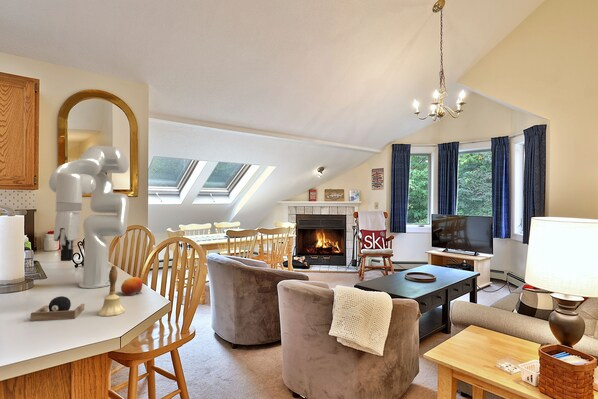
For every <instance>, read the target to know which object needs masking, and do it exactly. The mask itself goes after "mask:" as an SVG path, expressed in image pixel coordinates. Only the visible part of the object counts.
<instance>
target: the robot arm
mask: <svg viewBox="0 0 598 399" xmlns="http://www.w3.org/2000/svg"><path fill="white" fill-rule="evenodd" d="M129 165H130V164H129V159H128V157H127V156H126V154H125V153H124V151H123V150H122V149H121V148H119V147H116V146H106V145H92V146H89V147H88V148H86V150H85V151H84V152H83V154H82V155H81V156H80V158H79V159H75V160H72V161H69V162H65V163H63V164H60V165H59V166H58V167H56V168H55V170H54V171H53V172H52V173H51V175H50V177H49V180H48V187H49V188H50V190H51V191H52V192H53V193H55V213H56V214H55V219H54V220H55V221H54V227H53V228H54V229H53V241H54V242H59V246H60V261H61V262H71V261H73V259H74V246H75V241H76V239H78V238H79V234H80V214H79V213H82V207H83V204H82V203H83V195H89V194H91V196H90V202H89V203H90V204H89V208H90V210H91V211H92V212H93V213H97V214H93V215H88V216H87V217H85V218H84V219H83V223H82V228H83V236H84V237H83V238H84V252H83V253H84V256H83V257H84V258H83V279H82V280H83V281H80V282H79V283H78V286H79V288H82V289H96V288H97V289H98V288H104V287H107V286H110V281H109V255H110V245H109V243H108V241H107V240H106V239H105V237H122V236H124V235H126V232H127V230H128V222H129V212H130V199H129V196H128V195H127V194H125V193H120V192H114V187H115V186H114V181H113V180H112V179H111V178H110V177H109V176H108V174H125V173H127V172H128V170H129ZM109 214H110V215H109ZM111 214H116V215H111Z"/></svg>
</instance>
